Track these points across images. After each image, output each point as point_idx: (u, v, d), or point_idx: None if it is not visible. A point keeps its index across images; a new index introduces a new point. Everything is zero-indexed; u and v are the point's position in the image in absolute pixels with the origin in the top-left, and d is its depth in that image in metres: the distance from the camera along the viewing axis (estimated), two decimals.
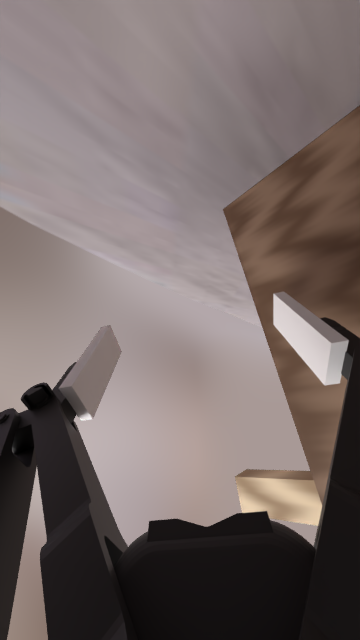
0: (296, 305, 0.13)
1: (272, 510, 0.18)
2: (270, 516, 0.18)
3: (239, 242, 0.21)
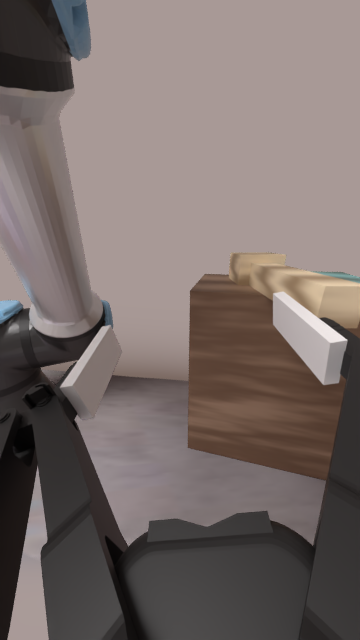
0: (295, 305, 0.13)
1: (297, 285, 0.16)
2: (300, 280, 0.16)
3: None
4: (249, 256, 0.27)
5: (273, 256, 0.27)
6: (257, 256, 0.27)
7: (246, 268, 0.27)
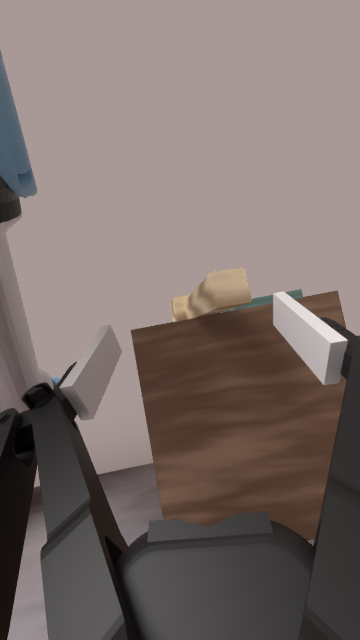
0: (296, 305, 0.13)
1: (202, 288, 0.20)
2: (202, 282, 0.19)
3: None
4: (180, 297, 0.31)
5: None
6: (187, 296, 0.32)
7: (181, 307, 0.31)
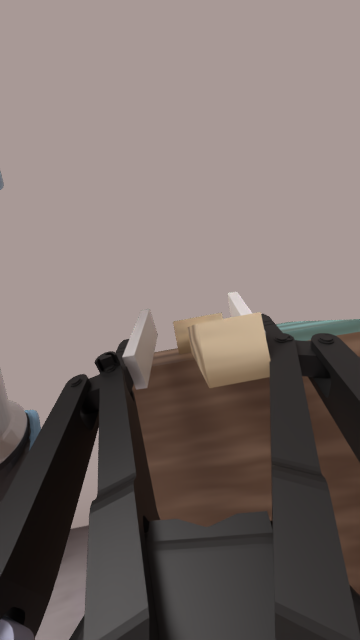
0: (240, 303, 0.15)
1: (194, 334, 0.12)
2: (193, 327, 0.12)
3: None
4: (182, 321, 0.24)
5: (208, 316, 0.24)
6: (191, 319, 0.24)
7: (183, 334, 0.24)
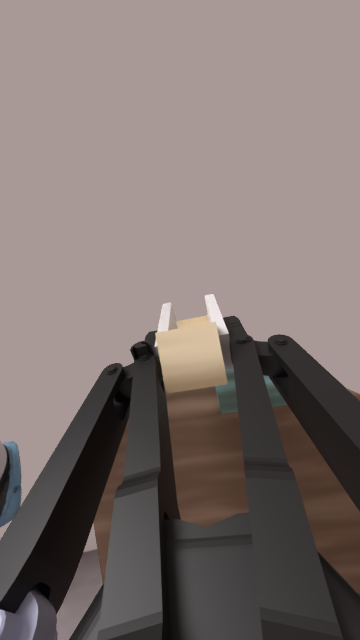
0: (213, 306, 0.15)
1: None
2: None
3: None
4: (179, 322, 0.25)
5: (204, 317, 0.25)
6: (187, 320, 0.25)
7: None
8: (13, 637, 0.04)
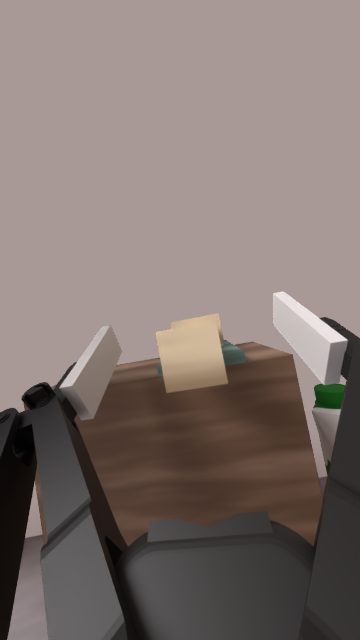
0: (296, 305, 0.13)
1: None
2: None
3: None
4: (179, 322, 0.25)
5: (205, 317, 0.25)
6: (187, 320, 0.25)
7: None
8: None
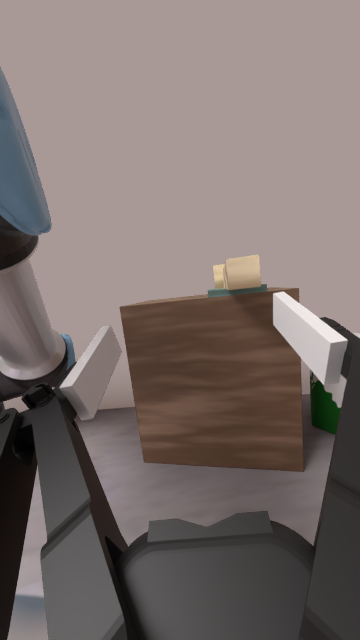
0: (296, 305, 0.13)
1: None
2: (225, 263, 0.22)
3: None
4: (220, 265, 0.34)
5: None
6: None
7: (219, 275, 0.34)
8: None
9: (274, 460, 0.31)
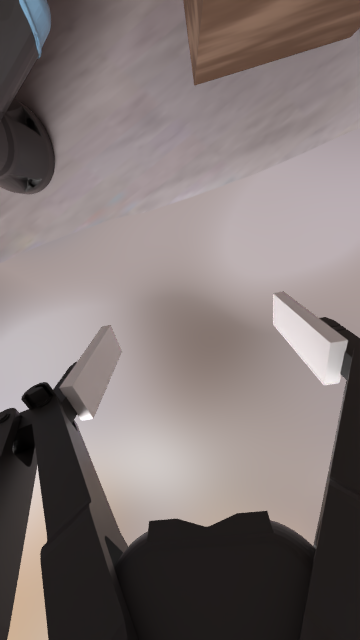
0: (296, 305, 0.13)
1: None
2: None
3: (196, 57, 0.30)
4: None
5: None
6: None
7: None
8: None
9: (330, 37, 0.32)
